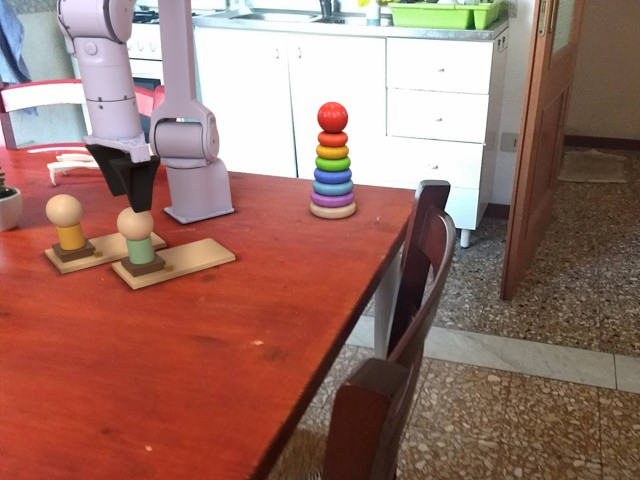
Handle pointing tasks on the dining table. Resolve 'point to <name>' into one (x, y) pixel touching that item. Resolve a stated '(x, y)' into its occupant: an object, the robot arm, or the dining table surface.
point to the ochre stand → (101, 252)
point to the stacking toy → (332, 166)
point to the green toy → (138, 243)
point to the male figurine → (74, 163)
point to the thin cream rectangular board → (180, 262)
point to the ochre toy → (68, 228)
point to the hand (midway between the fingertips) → (131, 202)
